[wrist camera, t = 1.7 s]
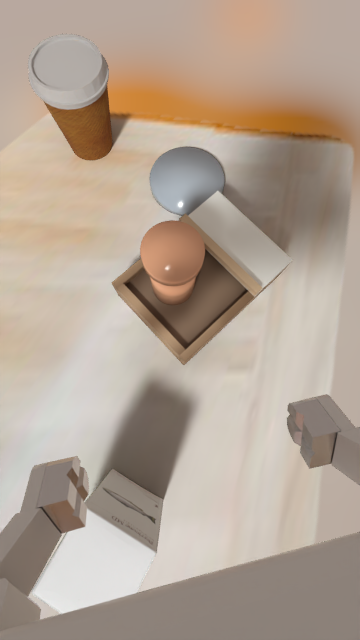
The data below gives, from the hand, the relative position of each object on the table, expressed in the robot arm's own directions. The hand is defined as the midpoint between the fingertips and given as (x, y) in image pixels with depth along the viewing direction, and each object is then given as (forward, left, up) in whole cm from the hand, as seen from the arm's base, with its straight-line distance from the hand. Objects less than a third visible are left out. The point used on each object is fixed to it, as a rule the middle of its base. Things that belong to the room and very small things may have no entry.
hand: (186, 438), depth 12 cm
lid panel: (-10, +19, -23) cm, 31 cm away
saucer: (-23, +23, -28) cm, 42 cm away
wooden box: (-10, +13, -28) cm, 32 cm away
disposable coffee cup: (-38, +17, -28) cm, 50 cm away
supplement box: (+4, -13, -28) cm, 31 cm away
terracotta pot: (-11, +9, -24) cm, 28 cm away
